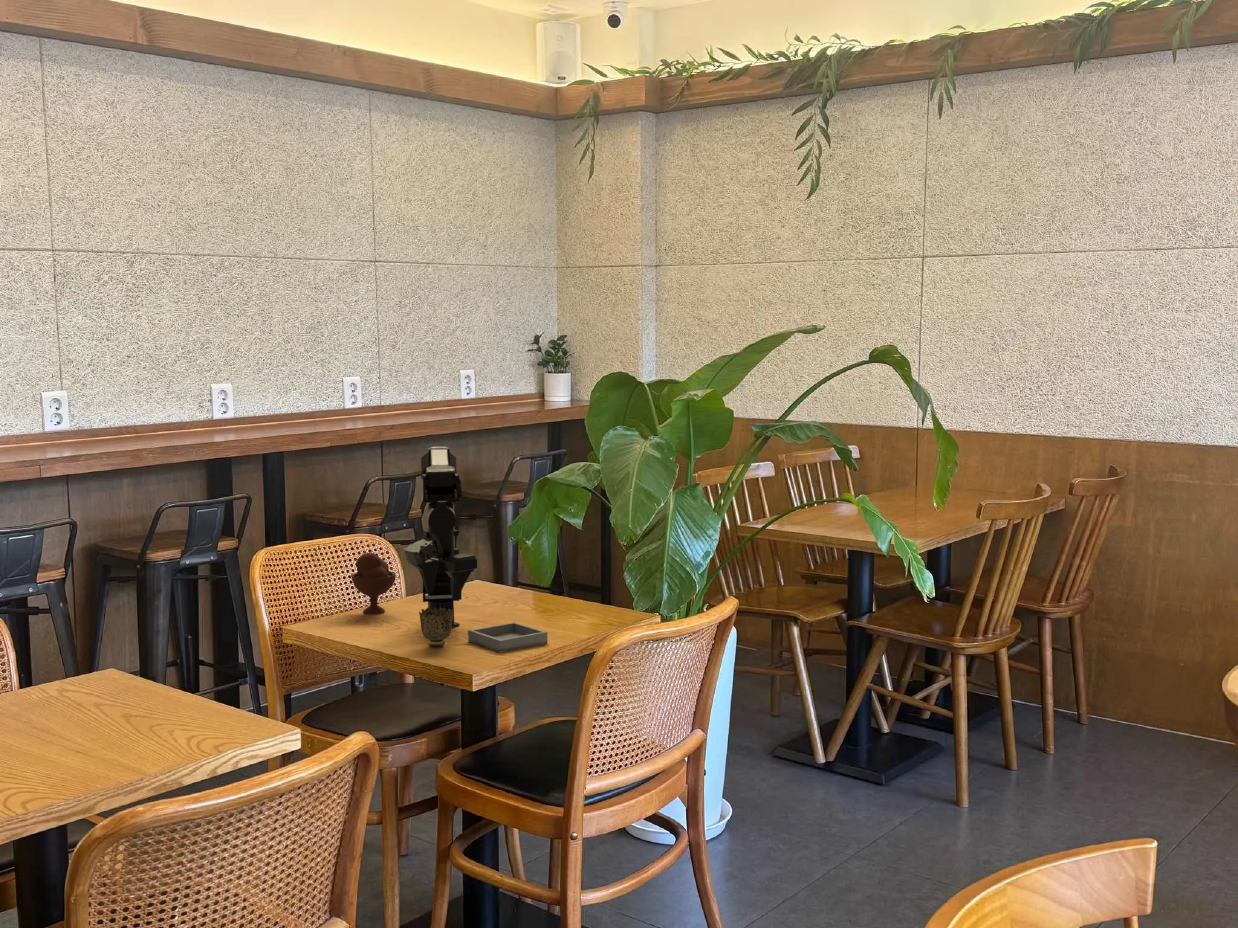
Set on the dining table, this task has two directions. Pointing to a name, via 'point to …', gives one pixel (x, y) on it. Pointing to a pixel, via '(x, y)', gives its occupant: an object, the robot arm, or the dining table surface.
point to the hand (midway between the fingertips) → (442, 596)
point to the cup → (436, 625)
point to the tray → (507, 636)
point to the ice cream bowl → (372, 580)
